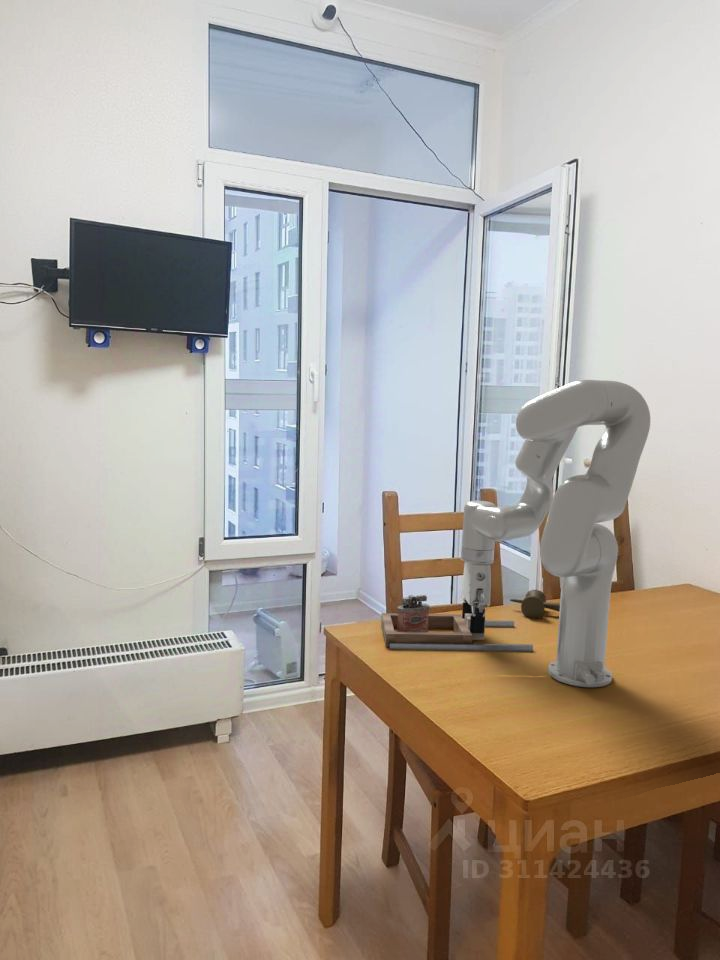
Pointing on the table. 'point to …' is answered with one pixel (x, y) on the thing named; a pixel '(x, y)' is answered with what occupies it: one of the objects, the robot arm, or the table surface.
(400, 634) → the sliding frame
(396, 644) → the guide rails
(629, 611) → the table surface
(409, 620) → the lighter
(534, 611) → the kendama
